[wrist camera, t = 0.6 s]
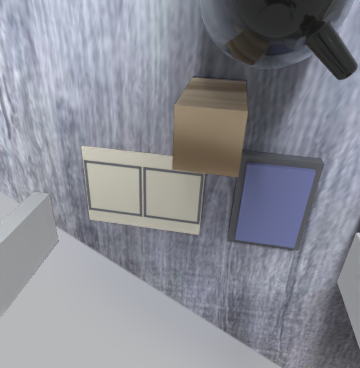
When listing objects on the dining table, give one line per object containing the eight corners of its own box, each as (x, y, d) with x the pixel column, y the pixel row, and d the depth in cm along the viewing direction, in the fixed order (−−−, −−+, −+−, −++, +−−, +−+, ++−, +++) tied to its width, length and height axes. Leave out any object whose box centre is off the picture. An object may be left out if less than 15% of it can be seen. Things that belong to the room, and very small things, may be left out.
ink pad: (241, 150, 34) (241, 157, 32) (321, 158, 33) (325, 166, 31) (228, 234, 39) (228, 243, 38) (296, 243, 38) (299, 253, 37)
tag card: (82, 145, 36) (81, 146, 36) (206, 159, 35) (206, 160, 34) (90, 218, 41) (89, 219, 41) (199, 233, 40) (199, 235, 39)
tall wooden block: (193, 76, 31) (174, 104, 22) (246, 80, 30) (248, 111, 22) (190, 126, 33) (172, 169, 25) (239, 131, 33) (238, 177, 24)
